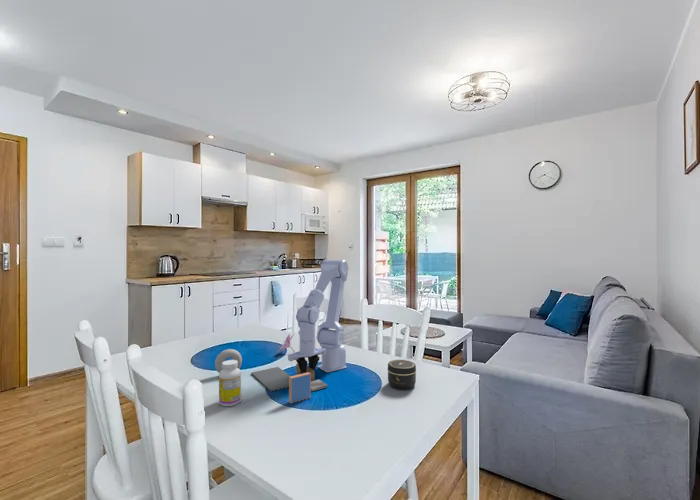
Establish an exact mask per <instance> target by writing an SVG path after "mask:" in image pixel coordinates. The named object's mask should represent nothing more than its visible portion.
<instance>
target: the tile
mask: <svg viewBox="0 0 700 500" xmlns="http://www.w3.org/2000/svg"><path fill="white" fill-rule="evenodd" d="M311 394H312V391H311V373H309V372H307V373H303V374H299V375H296V374H295V375H290V377H289V388H288V402H289V403H290V404H295V403H297V401H298V402H301V400H302V401H305V400H309V399H311V398H312V397H311V396H312V395H311ZM308 398H309V399H308ZM304 399H305V400H304ZM294 402H295V403H294Z"/></svg>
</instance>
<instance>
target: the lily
mask: <svg viewBox="0 0 700 500" xmlns="http://www.w3.org/2000/svg"><path fill="white" fill-rule="evenodd" d="M295 335H296V332H294V333H293V334H292V335H291V334H288V335H287V337H285V340H284V342H283V344H282V345H281V346H280V348H279V349H278V350H277V352H276V354H275V355H277V354H278V353H280V352H281V351H283V352H284V350H285V349H287V348H288V349H289V348H290V349H291V350H292V351H293V353H296V352H295V350H294V349H293V347H292V345H291V344H292V343H291V342H292V339H293V337H294V336H295Z"/></svg>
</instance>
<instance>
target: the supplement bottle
mask: <svg viewBox="0 0 700 500" xmlns="http://www.w3.org/2000/svg"><path fill="white" fill-rule="evenodd" d="M237 365H238V361H237V360H232V359H228V360H227V359H226V360H225V361H224V362H223V363H222V368H223V370H222V371H220V373H219V372H218V402H219V405H220V406H222V407H233V406H236V405H238V404H240V403H241V400H242V371H241V369H240V368H237Z"/></svg>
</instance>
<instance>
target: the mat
mask: <svg viewBox="0 0 700 500" xmlns="http://www.w3.org/2000/svg"><path fill="white" fill-rule="evenodd" d="M251 375H252V377H254V378H255V379H256V380H257V381H258V382H259V383H261V385H263V386H264V387H265V388H266V389H267V390H268V391H269V392H272V391H273V392H276V391H275V390H277V391H279V389H281V390H284V389H283V388H285V389H287V387H289V377H290V376H291V374H289V373H287V372H286V371H284V370H283V369H282V368H281V367H279V366H276V367H270V368H266V369H262V370H256V371H252V372H251Z"/></svg>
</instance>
